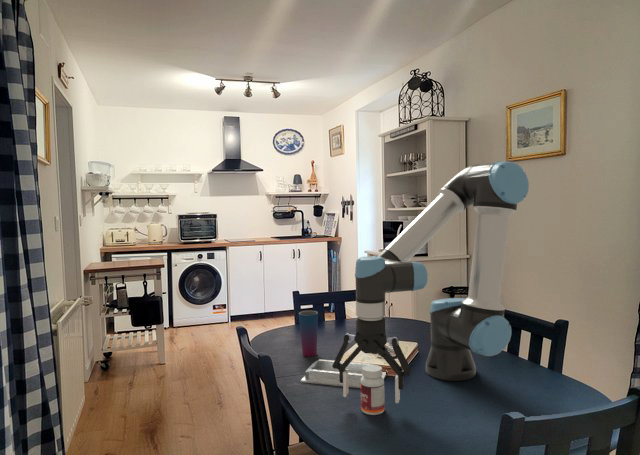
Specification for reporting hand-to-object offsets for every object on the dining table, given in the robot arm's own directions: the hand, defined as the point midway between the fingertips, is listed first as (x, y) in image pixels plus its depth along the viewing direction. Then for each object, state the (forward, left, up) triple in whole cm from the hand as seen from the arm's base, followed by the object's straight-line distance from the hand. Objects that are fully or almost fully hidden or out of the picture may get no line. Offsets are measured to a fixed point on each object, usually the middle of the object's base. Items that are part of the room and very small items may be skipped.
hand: (371, 398), depth 120 cm
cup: (+31, -38, -4) cm, 49 cm away
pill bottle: (0, 0, -4) cm, 4 cm away
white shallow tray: (+13, -20, -3) cm, 24 cm away
